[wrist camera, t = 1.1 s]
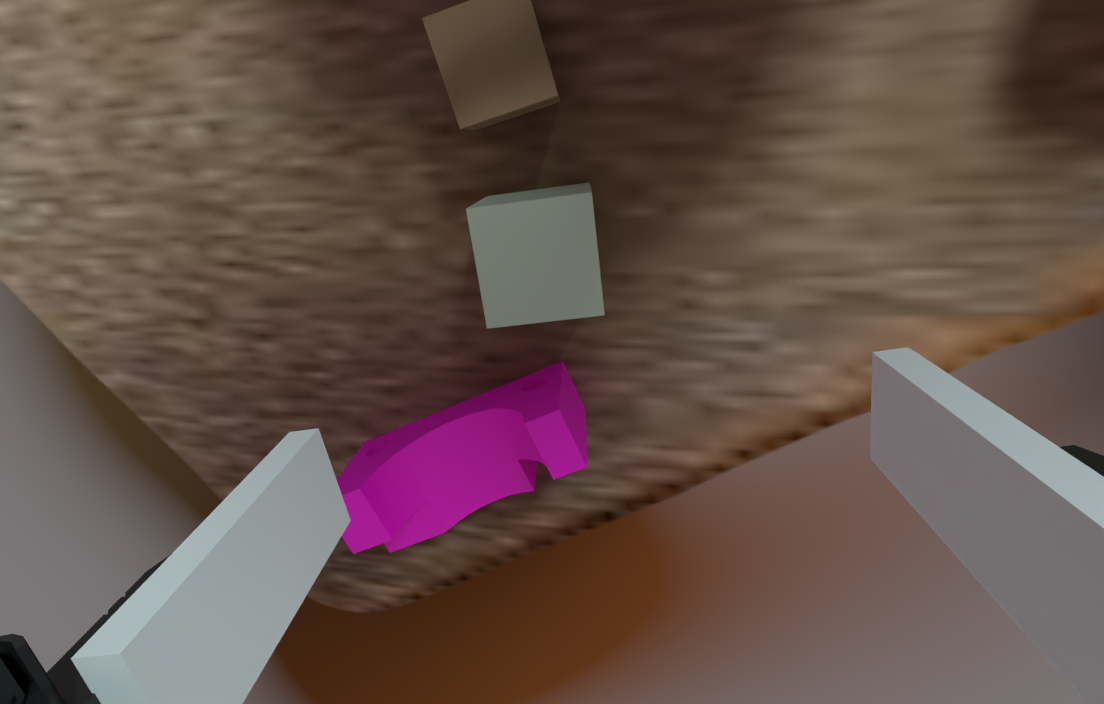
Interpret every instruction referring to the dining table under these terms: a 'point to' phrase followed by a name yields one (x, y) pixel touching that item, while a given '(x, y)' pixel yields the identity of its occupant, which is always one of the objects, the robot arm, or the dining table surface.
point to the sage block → (537, 255)
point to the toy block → (462, 460)
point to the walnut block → (491, 60)
